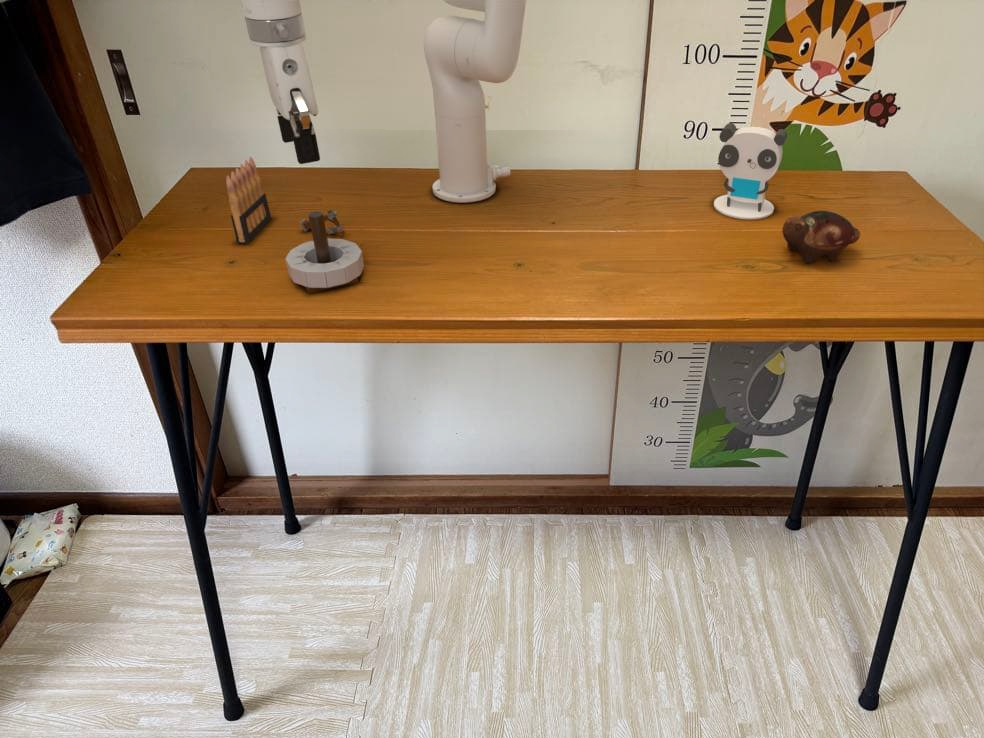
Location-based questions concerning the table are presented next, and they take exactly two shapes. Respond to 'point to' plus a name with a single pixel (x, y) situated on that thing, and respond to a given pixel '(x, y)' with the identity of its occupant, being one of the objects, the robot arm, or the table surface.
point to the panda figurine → (748, 170)
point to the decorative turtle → (819, 235)
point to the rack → (321, 246)
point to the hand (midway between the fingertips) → (301, 151)
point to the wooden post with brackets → (331, 214)
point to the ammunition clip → (247, 202)
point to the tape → (328, 274)
